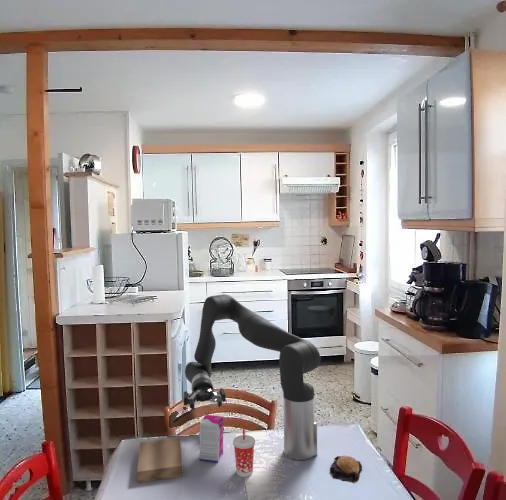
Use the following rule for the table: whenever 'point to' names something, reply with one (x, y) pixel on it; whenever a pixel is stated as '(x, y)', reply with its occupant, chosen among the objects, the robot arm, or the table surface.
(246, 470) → the beverage cup
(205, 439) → the supplement box
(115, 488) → the table surface
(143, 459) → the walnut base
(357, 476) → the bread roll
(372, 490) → the table surface
